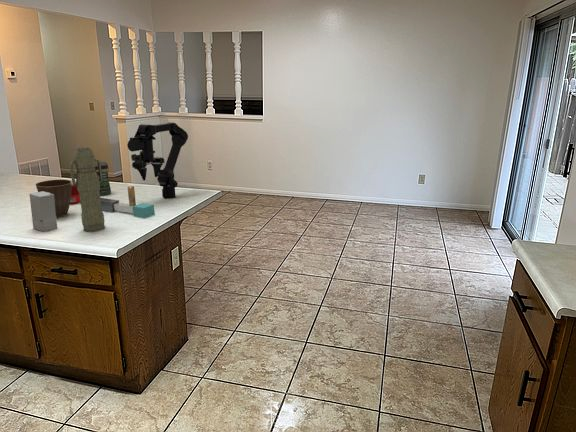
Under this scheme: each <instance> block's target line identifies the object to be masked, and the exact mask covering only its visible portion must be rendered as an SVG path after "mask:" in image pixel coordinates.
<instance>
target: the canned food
mask: <svg viewBox="0 0 576 432" xmlns="http://www.w3.org/2000/svg"><path fill="white" fill-rule="evenodd" d="M70 181H71V182H72V180H70ZM75 183H76V180H75ZM78 204H81V202H80V195H79V192H78V190H77V186H73V183H72V186H71V199H70V205H69V206H71V205H73V206H74V205H78Z"/></svg>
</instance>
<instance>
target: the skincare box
mask: <svg viewBox="0 0 576 432" xmlns="http://www.w3.org/2000/svg"><path fill="white" fill-rule="evenodd" d="M29 201H30V212H31V221H32V228H33V230H34V229H35V230H38V231H41V232H47V231H51V230H55V229H58V224H57V223H58V222H57V221H58V220H57V217H56V211H55V200H54V194H51V193H48V192H44V191H42V192H38V191H36V192H31V193H29Z"/></svg>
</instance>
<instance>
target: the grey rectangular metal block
mask: <svg viewBox="0 0 576 432" xmlns="http://www.w3.org/2000/svg"><path fill="white" fill-rule="evenodd" d="M100 201H101V209H102V212H108V213H115V212H117V211H116V210H113V206H112V203H115V202H118V203H120V200H119V199H112V198H105V197H100Z"/></svg>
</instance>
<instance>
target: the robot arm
mask: <svg viewBox="0 0 576 432" xmlns="http://www.w3.org/2000/svg"><path fill="white" fill-rule="evenodd" d="M163 132H168V133H169V135H170V136H171V143H172V145H171V148H170V151H169V153H168V157H167V160H166V163H165V158H164V157H161V156H155V153H156V150H154V142H153V141H155V140H157V139H156V137H155V135H156V134H157V133H163ZM188 139H189V134H188V132H187V131H186V130H185V129H183V128H182V127H180V126H179V125H178V124H177V123H176V122H170V121H169V122H164V123H158V124H146V123H145V124H143V123H141V124H139V125H138V127H137V130H136V132H135V134H134V136H133V137H129V140H128V141H127V145H126V146H127V149H128V150H129V152H132V153H133V154H130V155H131V156H130V157H131V161H133V162H132V163H131V166H132V168H133V169H135V170H137V171H138V172H139V174H140V176H141V178H142V181H144V182H145V181H146V178H147V171H148V168H147V165H151V166H152V167H153V173H154V174H153V175H154V178H156V179H157V182H158V184H159V187H162V188H161V195H162V198H163V199H165V200H167V198H168V199H175V198H177V196H176V187H177V188H178V184H179V182H177V180H175V171H174V169H175V167H176V164H177V161H178V158H179V155H180V152H181V149H182V147H183V146H185V145H186V143H187V141H188ZM134 152H139V154H136V153H135V154H134ZM164 164H165V166H164V167H163V169H161V168H162V166H163V165H164Z"/></svg>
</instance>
